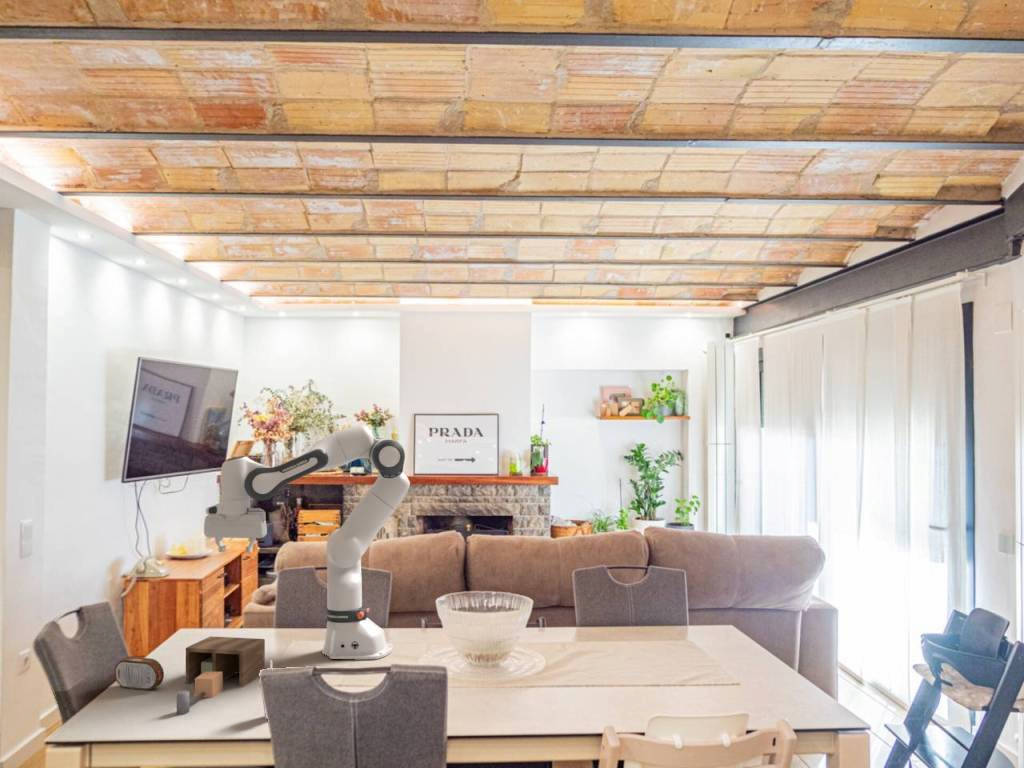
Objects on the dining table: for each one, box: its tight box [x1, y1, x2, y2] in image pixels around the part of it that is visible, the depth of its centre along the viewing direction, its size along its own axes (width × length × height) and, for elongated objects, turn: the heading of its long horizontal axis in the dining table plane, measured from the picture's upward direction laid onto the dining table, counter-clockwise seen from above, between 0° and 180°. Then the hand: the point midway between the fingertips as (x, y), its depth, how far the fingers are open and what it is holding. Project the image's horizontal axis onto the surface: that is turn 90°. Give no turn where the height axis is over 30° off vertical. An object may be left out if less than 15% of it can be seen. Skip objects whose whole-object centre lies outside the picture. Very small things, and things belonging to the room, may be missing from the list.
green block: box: [201, 657, 212, 674], centre depth 230 cm, size 5×6×5 cm
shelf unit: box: [185, 636, 266, 688], centre depth 229 cm, size 18×12×10 cm, turn 78°
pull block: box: [176, 671, 224, 715], centre depth 210 cm, size 5×18×5 cm, turn 175°
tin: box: [114, 656, 165, 691], centre depth 221 cm, size 15×3×8 cm, turn 74°
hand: (235, 551), depth 245 cm, fingers open, 8 cm apart
